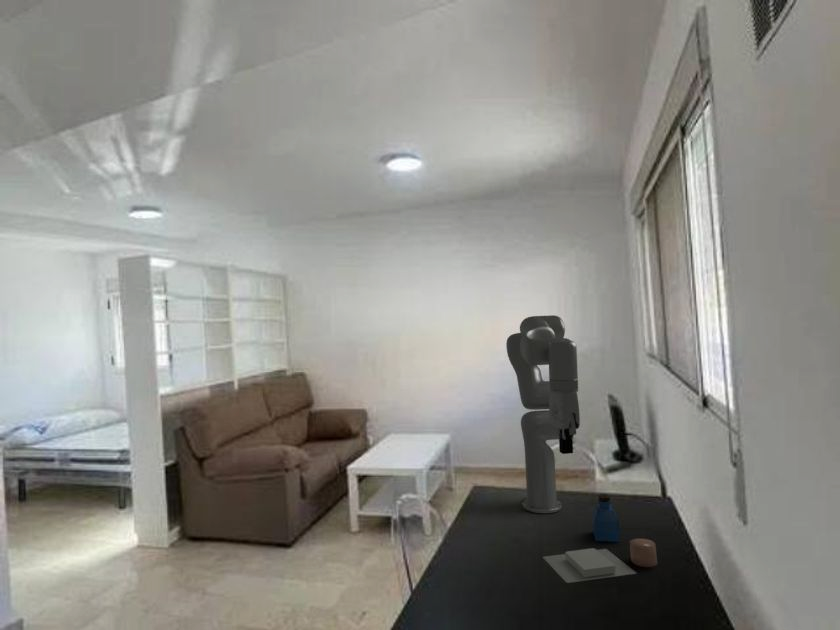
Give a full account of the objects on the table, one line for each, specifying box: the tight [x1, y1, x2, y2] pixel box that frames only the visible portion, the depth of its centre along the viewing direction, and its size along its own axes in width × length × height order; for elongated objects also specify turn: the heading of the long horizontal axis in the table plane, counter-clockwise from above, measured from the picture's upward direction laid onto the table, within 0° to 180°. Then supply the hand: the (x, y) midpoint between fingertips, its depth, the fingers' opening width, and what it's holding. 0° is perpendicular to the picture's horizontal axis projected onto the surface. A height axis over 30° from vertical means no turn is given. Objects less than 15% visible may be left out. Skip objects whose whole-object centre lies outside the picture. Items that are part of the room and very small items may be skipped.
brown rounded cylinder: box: [629, 538, 658, 568], centre depth 131 cm, size 6×6×5 cm
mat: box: [542, 548, 638, 584], centre depth 130 cm, size 14×18×1 cm
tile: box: [564, 547, 616, 577], centre depth 130 cm, size 2×8×10 cm
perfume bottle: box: [591, 493, 620, 543], centre depth 147 cm, size 6×6×12 cm
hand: (566, 452), depth 143 cm, fingers closed
